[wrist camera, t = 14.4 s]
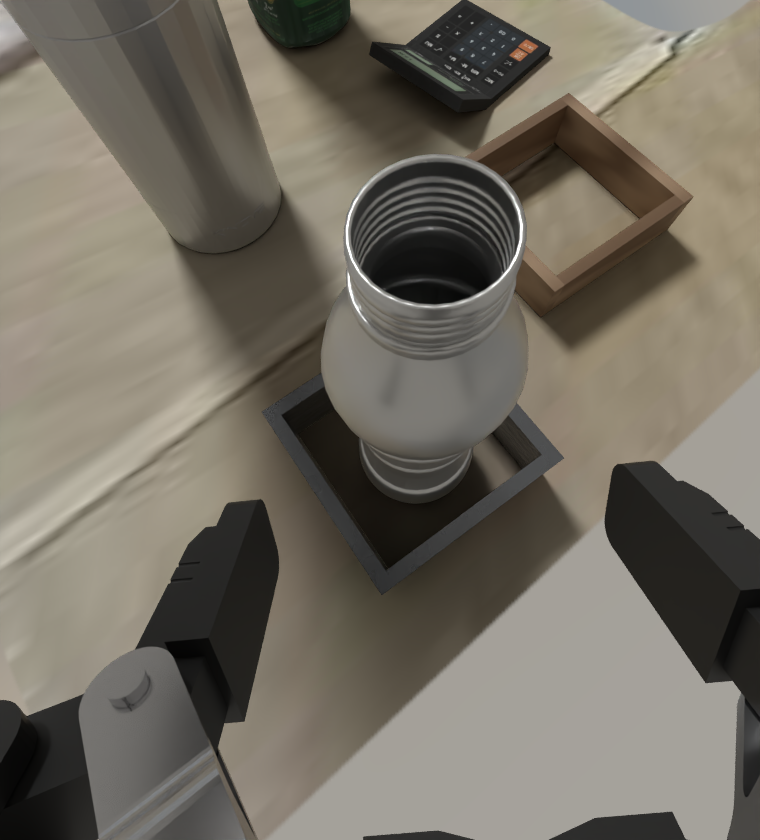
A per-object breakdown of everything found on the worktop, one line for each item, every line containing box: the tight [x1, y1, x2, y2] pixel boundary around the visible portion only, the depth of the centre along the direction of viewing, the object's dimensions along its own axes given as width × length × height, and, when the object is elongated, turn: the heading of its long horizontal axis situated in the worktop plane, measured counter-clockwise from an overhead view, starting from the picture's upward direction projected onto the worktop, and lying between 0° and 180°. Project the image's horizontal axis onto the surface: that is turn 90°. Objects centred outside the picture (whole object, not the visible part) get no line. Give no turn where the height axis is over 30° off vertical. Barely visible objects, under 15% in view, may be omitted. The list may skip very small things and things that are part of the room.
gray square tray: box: [262, 373, 564, 595], centre depth 26 cm, size 12×12×4 cm
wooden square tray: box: [465, 93, 693, 317], centre depth 31 cm, size 12×12×3 cm
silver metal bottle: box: [321, 154, 528, 504], centre depth 18 cm, size 6×7×20 cm
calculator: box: [369, 0, 551, 113], centre depth 36 cm, size 9×12×3 cm
